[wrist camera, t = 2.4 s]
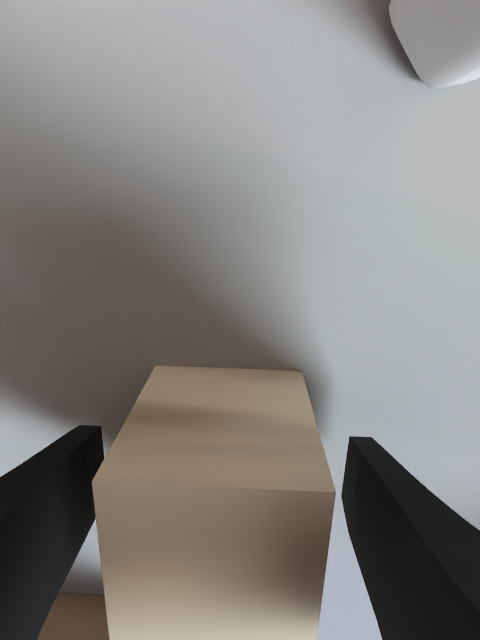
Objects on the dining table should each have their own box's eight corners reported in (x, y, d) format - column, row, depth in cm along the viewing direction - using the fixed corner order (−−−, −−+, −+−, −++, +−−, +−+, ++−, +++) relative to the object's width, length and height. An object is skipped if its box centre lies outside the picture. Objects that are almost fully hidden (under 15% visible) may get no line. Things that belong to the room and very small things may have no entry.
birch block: (291, 488, 13) (314, 657, 8) (161, 483, 13) (110, 647, 8) (301, 370, 12) (335, 492, 7) (155, 364, 12) (91, 481, 7)
